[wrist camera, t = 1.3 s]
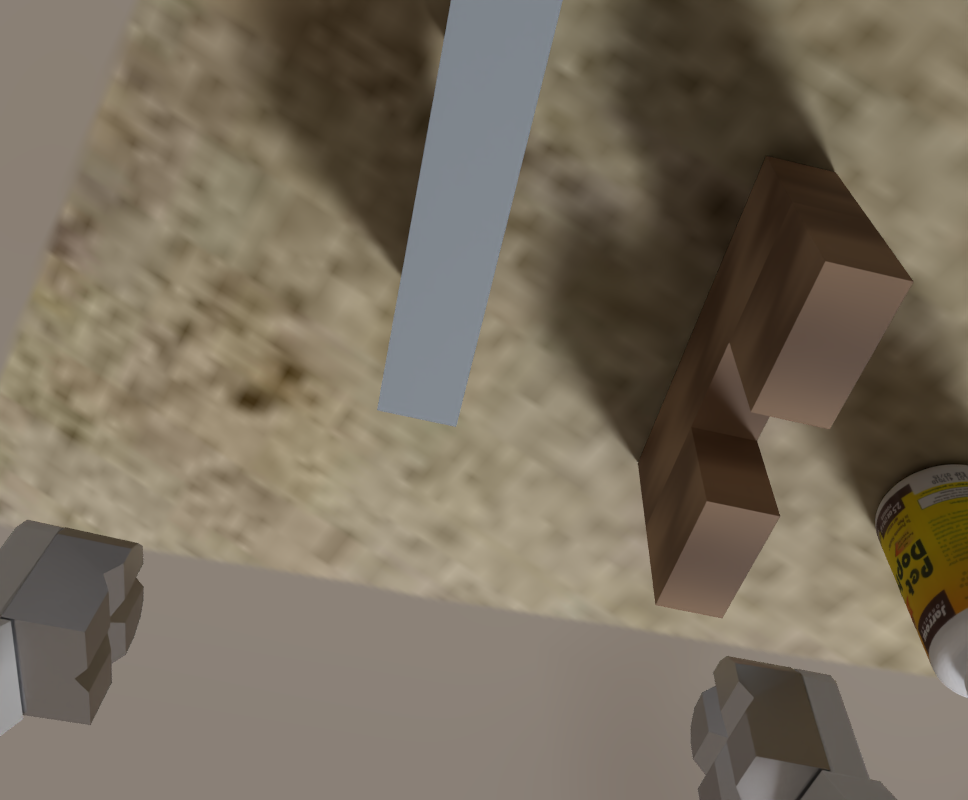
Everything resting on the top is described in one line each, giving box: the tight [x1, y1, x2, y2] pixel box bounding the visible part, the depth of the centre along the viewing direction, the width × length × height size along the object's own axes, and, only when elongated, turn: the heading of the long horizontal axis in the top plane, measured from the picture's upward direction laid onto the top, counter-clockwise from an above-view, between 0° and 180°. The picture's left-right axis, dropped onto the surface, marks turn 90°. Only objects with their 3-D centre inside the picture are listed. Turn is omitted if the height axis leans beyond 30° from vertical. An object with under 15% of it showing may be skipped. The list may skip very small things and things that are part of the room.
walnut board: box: [638, 156, 913, 618], centre depth 31 cm, size 14×2×8 cm, turn 168°
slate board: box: [377, 0, 562, 427], centre depth 27 cm, size 14×2×8 cm, turn 168°
